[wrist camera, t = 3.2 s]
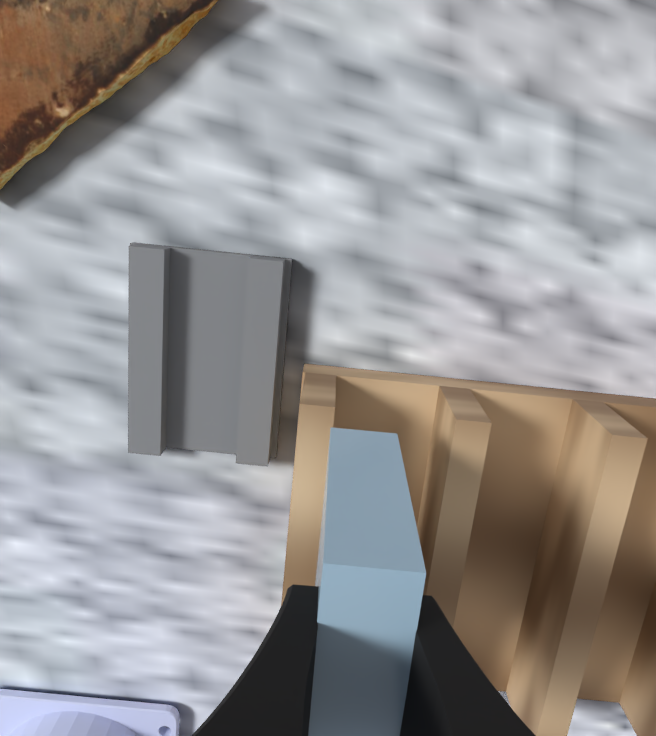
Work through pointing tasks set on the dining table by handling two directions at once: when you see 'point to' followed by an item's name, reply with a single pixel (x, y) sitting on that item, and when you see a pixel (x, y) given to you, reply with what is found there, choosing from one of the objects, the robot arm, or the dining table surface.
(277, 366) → the holder
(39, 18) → the shard
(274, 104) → the dining table surface
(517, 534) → the rack
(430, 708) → the robot arm
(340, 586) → the plate
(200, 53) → the dining table surface
